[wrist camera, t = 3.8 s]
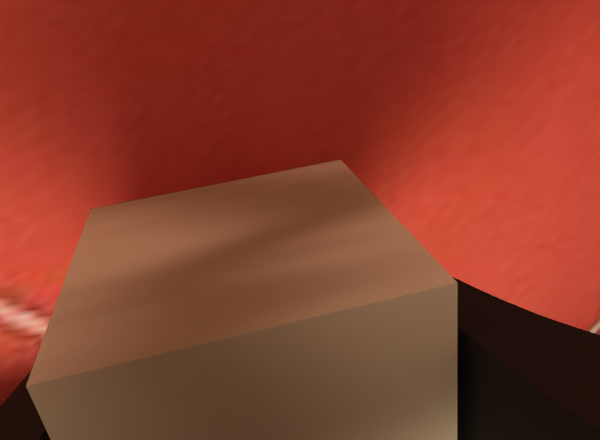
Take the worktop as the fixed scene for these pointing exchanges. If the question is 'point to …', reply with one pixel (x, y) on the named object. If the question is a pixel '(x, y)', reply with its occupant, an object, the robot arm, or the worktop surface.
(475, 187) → the worktop surface
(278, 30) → the worktop surface
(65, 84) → the worktop surface
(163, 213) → the birch cube
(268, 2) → the worktop surface
